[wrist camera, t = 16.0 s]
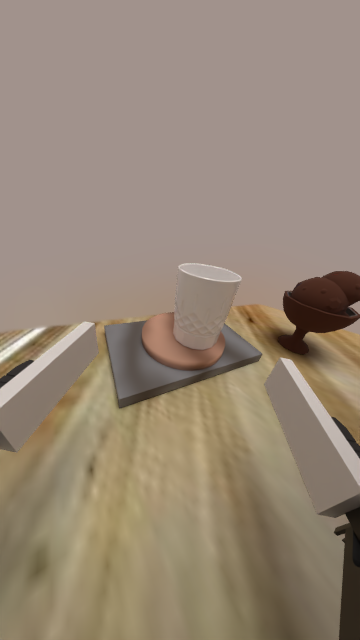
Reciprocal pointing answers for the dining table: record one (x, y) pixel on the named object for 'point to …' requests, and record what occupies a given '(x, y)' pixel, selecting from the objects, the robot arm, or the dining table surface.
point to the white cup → (202, 303)
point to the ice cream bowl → (320, 307)
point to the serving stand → (167, 358)
